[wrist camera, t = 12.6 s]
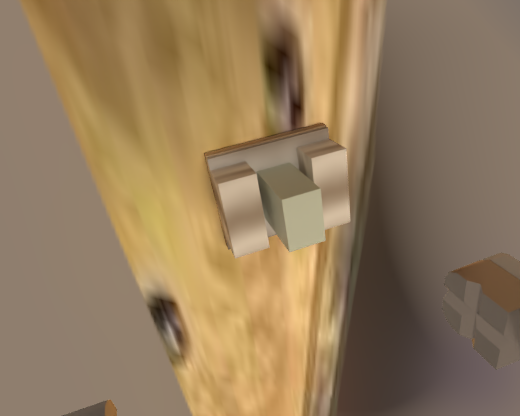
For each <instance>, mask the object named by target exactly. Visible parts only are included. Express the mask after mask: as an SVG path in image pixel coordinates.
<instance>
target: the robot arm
mask: <svg viewBox="0 0 520 416" xmlns="http://www.w3.org/2000/svg"><path fill="white" fill-rule="evenodd" d="M444 285H445V287H446V288H448V292H447V293H446V295H445V296H444V298H443V306H442V310H443V312H444V315H445V318H446V320H447V321H448V323H449V324H450V325H451V327H452V328H453V329H454V330H455V331H456V332H457V333H458V334H459V335H461V336H464V337H467V338H470V339H472V343H473V348H474V349H475V350H476V351H477V352H478V353H479V354H480V355H481V356H482V357H483V358H484V359H485V360H486V361H487V362H488V363H489V364H491V365H492V366H493V367H494V368H495V369H496V370H497V369H499V368H502V367H504V366H507V365H509V364H511V363H514V362H516V361H519V360H520V261H518V260H517V259H515V258H514V257H512V256H510V255H508V254H505V253H498V254H496V255H493V256H490V257H488V258H485V259H483V260H479V261H476V262H474V263H471V264H469V265H466V266H463V267H461V268H458V269H456V270H453V271H451V272H449V273H448V274H447V275H446V277H445V282H444ZM63 416H117V409H116V407H115V406H114V404H113V402H112V401H111V400H107V401H103V402H101V403H98V404H95V405H92V406H89V407H86V408H83V409H80V410H78V411H75V412H72V413H69V414H66V415H63Z"/></svg>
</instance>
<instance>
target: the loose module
mask: <svg viewBox="0 0 520 416" xmlns="http://www.w3.org/2000/svg"><path fill="white" fill-rule="evenodd" d="M256 172H257V178H258V183H259V189H260V194H261V200H262V206H263V211H264V217H265V219H266V220H267V222H268V223H269V224H270V226H271V227H272V229H273V230H274V231H275V233H276V234H277V236H278V237H279V238H280V240H281V241H282V242H283V244H284V245H285V247H286V248H287V249H288V251H289V252H292V251H295V250H298V249H301V248H304V247H307V246H310V245H314V244H317V243H320V242H323V241H326V239H325V229H324V218H323V207H322V197H321V188H320V187H318V186H317V185H316V184H315V183H314V182H312V181H311V180H310V179H309V178H308V177H307V176H305V175H304V174H303V173H302V172H301V171H299V170H298V169H297V168H296V167H295V166H294V165H292V164H291V163H290V162H289V163H285V164H282V165H278V166H274V167H271V168H267V169H264V170H260V171H256Z"/></svg>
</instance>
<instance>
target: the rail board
mask: <svg viewBox="0 0 520 416" xmlns="http://www.w3.org/2000/svg"><path fill="white" fill-rule="evenodd" d="M204 154H205V158H206V163H207V167H208V171H209V175H210V179H211V183H212V187H213V192H214V196H215V200H216V204H217V208H218V212H219V216H220V221H221V225H222V229H223V233H224V237H225V241H226V245H227V247H228V249H231V251H232V253H233V255H234V257H235V258H238V257H241V256H245V255H248V254H251V253H254V252H257V251H260V250H263V249H266V248H270V247H269V241H268V237H271V236H274V235H277V234H276V233H275V231H274V230H273V229H272V227H271V226H270V224H269V223H268V222H267V220H266V219H265V217H264V211H263V206H262V200H261V194H260V189H259V183H258V178H257V172H256V171H260V170H264V169H267V168H271V167H274V166H278V165H282V164H285V163H289V162H290V163H291V164H292V165H294V166H295V167H296V168H297V169H298V170H299V171H301V172H302V173H303V174H304V175H305V176H307V177H308V178H309V179H310V180H311V181H312V182H314V183H315V184H316V185H317V186H318V187H320V188H321V197H322V207H323V218H324V229H325V230H326V229H329V228H332V227H335V226H338V225H342V224H345V223H348V222H350V207H349V189H348V171H347V153H346V148H344V147H342V146H341V145H339V144H337V143H335V142H334V141H332V140H330V139H329V134H328V127H326V125H325V124H323V123H320V124H316V125H312V126H308V127H305V128H301V129H297V130H293V131H289V132H285V133H281V134H278V135H274V136H270V137H266V138H262V139H258V140H254V141H251V142H247V143H243V144H239V145H235V146H231V147H227V148H224V149H220V150H216V151H212V152H208V153H204Z"/></svg>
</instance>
